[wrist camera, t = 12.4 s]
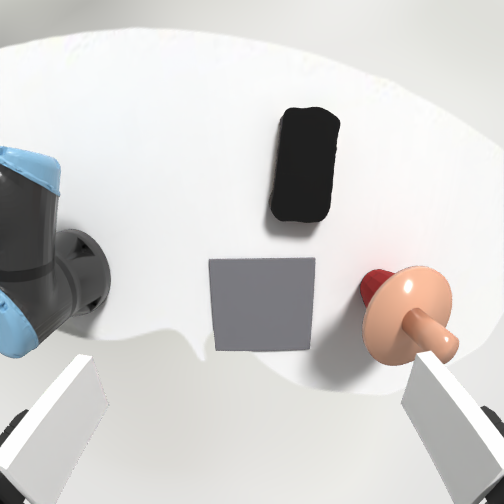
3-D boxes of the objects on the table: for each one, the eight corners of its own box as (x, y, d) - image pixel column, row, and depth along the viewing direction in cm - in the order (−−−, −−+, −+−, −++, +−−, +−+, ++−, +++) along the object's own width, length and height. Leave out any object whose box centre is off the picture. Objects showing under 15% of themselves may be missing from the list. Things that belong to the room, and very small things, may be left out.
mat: (216, 348, 49) (215, 350, 48) (209, 259, 45) (209, 260, 44) (309, 347, 49) (309, 349, 48) (314, 257, 45) (315, 258, 44)
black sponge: (322, 221, 44) (328, 225, 40) (267, 214, 44) (268, 217, 40) (335, 117, 40) (342, 112, 36) (280, 107, 40) (282, 101, 36)
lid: (354, 368, 36) (381, 413, 27) (368, 269, 32) (410, 299, 23) (435, 351, 36) (468, 384, 27) (454, 262, 33) (499, 284, 24)
